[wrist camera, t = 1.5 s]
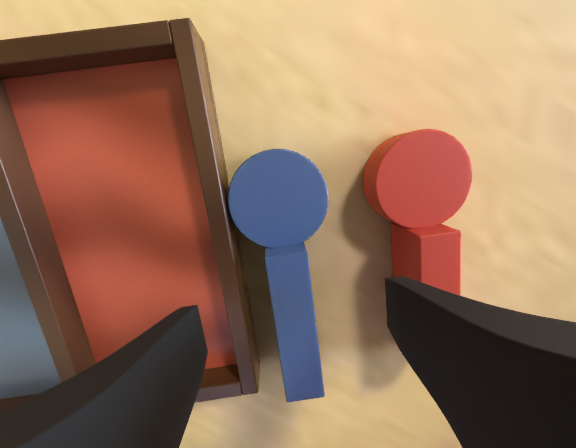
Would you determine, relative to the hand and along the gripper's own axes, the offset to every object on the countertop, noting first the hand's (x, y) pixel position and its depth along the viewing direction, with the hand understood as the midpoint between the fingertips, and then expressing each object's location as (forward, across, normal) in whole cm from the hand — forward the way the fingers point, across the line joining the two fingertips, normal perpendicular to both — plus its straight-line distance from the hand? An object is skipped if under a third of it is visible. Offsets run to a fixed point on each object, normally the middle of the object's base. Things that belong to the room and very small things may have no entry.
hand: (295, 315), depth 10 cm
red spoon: (+4, -6, -1) cm, 8 cm away
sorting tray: (+4, +11, -3) cm, 12 cm away
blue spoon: (+4, 0, -1) cm, 4 cm away
